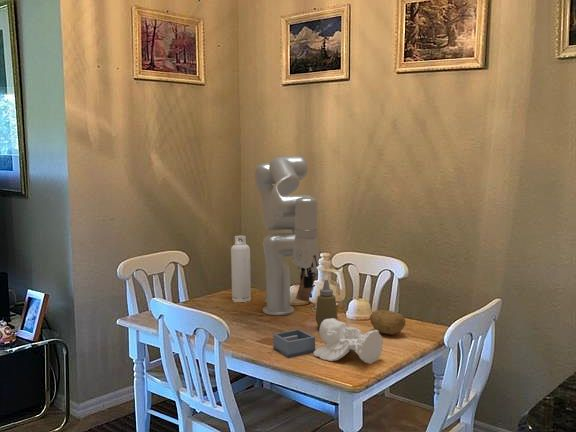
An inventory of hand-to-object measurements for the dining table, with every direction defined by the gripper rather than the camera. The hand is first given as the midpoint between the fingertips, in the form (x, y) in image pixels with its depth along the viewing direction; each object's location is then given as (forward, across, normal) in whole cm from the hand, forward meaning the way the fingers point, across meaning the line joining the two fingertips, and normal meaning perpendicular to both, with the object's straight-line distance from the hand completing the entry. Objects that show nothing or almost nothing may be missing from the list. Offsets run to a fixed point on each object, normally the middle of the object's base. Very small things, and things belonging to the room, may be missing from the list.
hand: (306, 286), depth 207 cm
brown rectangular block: (+5, 0, -2) cm, 5 cm away
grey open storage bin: (+18, +8, -10) cm, 22 cm away
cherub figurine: (+19, +23, 0) cm, 30 cm away
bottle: (+19, -59, +3) cm, 62 cm away
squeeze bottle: (+19, -6, +12) cm, 23 cm away
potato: (+19, +10, +27) cm, 34 cm away
